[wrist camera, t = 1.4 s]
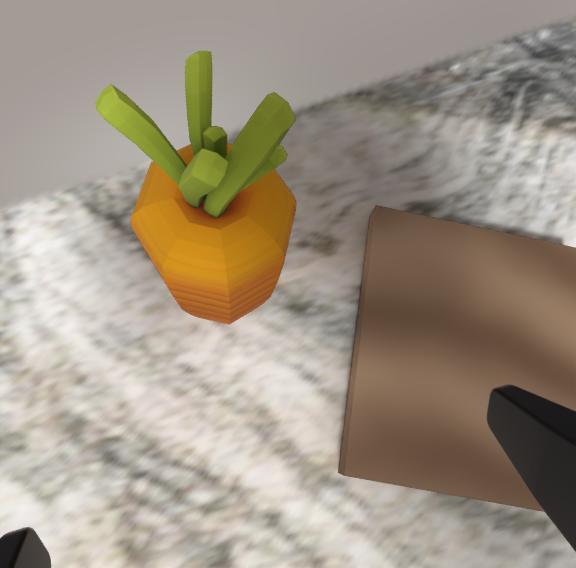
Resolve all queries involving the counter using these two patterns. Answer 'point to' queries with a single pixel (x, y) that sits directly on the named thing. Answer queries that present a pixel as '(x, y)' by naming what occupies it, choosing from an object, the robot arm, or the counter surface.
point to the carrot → (211, 199)
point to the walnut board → (453, 351)
